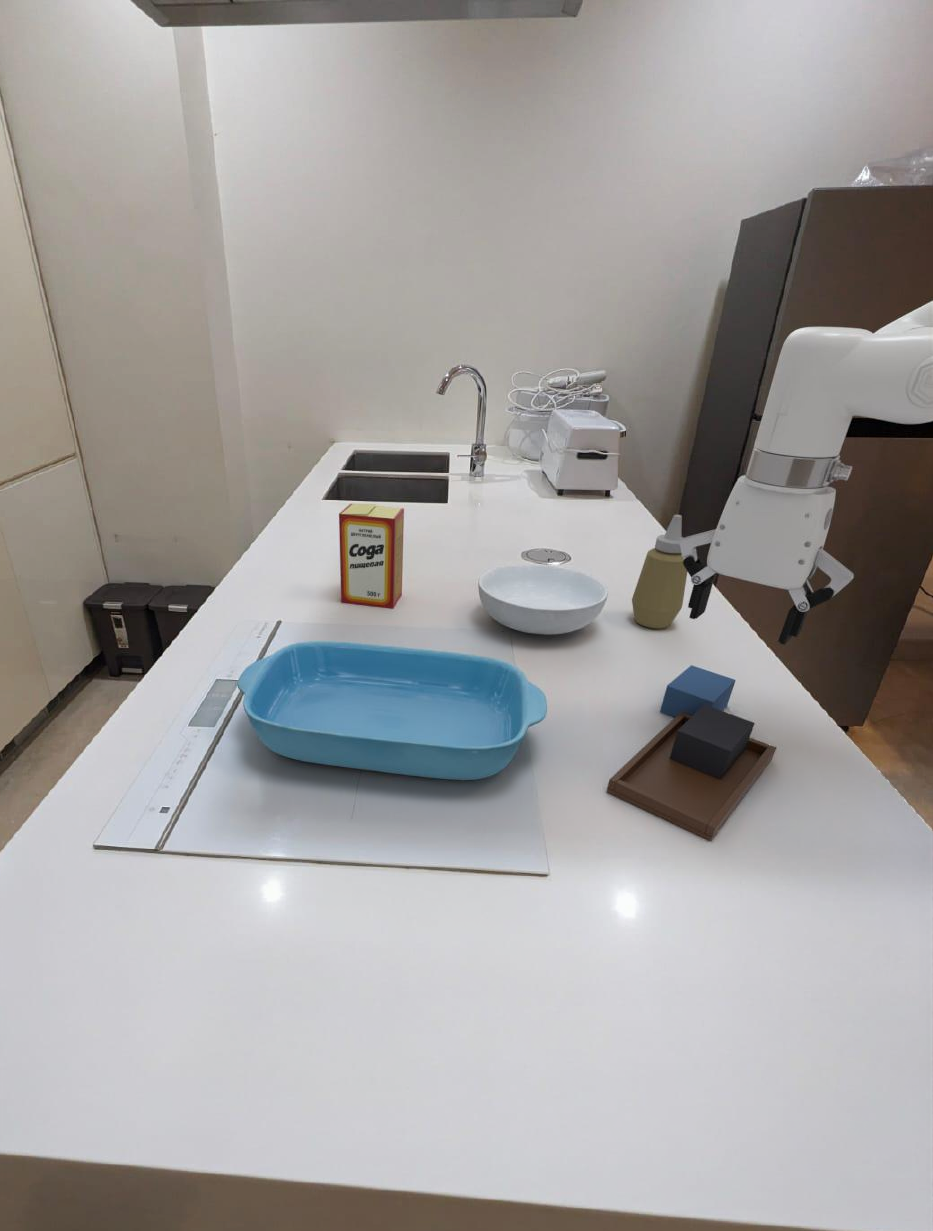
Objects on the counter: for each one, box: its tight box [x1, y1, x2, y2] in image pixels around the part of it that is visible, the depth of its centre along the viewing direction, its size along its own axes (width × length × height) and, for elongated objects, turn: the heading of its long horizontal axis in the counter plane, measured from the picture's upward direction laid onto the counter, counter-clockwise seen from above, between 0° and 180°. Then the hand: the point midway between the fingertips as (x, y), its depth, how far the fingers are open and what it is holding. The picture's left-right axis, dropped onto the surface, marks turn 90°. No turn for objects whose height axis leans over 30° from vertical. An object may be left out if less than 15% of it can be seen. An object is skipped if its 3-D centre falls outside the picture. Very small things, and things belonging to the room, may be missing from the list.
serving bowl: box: [477, 563, 609, 635], centre depth 111 cm, size 21×21×7 cm
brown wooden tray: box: [606, 712, 777, 842], centre depth 77 cm, size 12×20×2 cm, turn 138°
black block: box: [670, 705, 756, 780], centre depth 79 cm, size 6×8×4 cm
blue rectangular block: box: [659, 664, 736, 718], centre depth 89 cm, size 6×8×4 cm
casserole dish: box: [237, 640, 548, 781], centre depth 82 cm, size 37×22×7 cm, turn 81°
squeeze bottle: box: [631, 514, 688, 629], centre depth 109 cm, size 8×8×18 cm
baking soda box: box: [338, 503, 405, 609], centre depth 116 cm, size 10×6×16 cm
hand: (739, 627), depth 76 cm, fingers open, 9 cm apart
